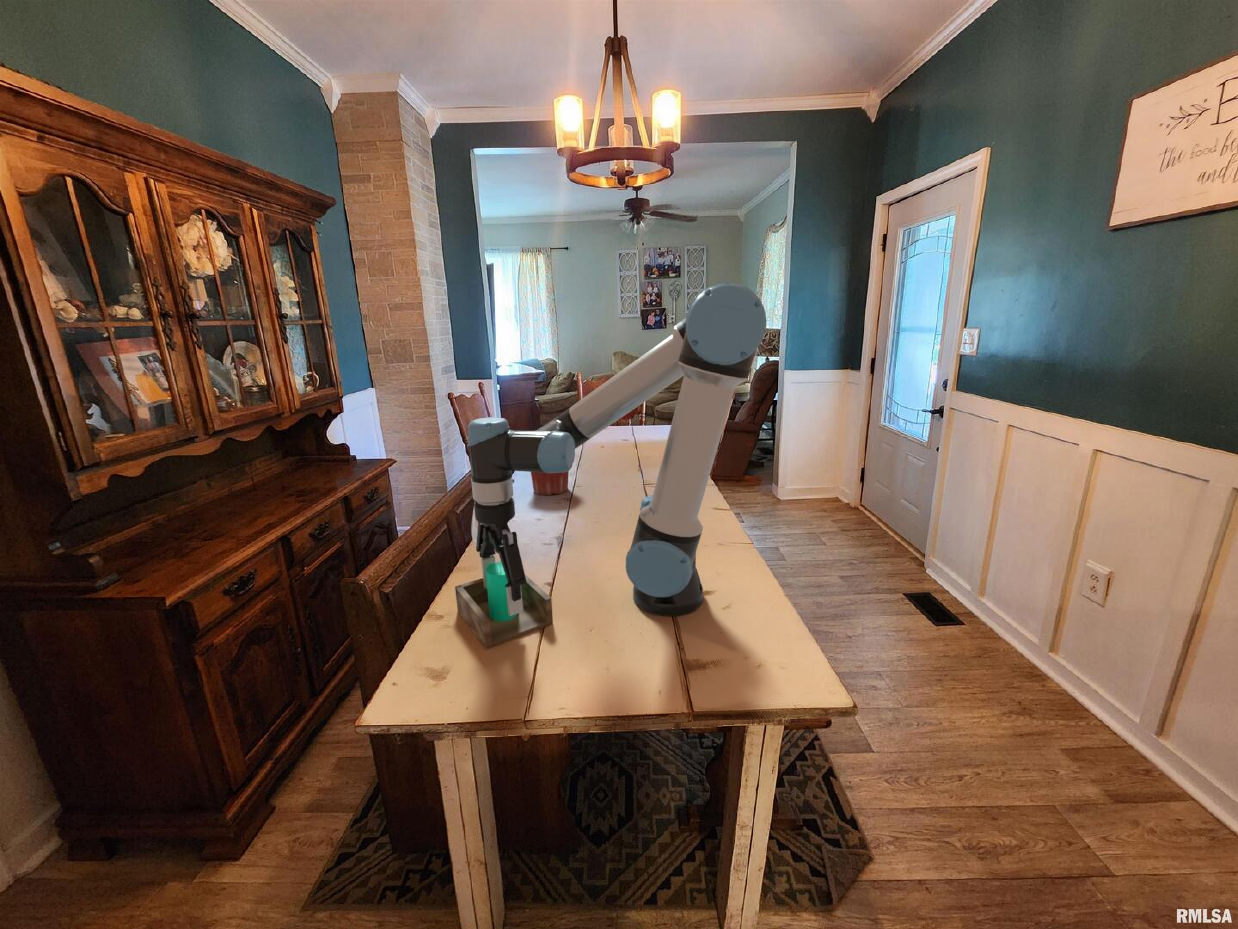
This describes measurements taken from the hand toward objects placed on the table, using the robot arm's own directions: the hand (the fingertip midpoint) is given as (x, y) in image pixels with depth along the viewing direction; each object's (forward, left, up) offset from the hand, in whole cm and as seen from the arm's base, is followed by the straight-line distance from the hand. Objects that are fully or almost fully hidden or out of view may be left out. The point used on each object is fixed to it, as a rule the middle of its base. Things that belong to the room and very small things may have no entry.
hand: (502, 599), depth 104 cm
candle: (0, 0, -4) cm, 4 cm away
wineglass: (+15, -4, -4) cm, 16 cm away
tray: (0, 0, -4) cm, 4 cm away
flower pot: (+67, -46, -5) cm, 81 cm away
